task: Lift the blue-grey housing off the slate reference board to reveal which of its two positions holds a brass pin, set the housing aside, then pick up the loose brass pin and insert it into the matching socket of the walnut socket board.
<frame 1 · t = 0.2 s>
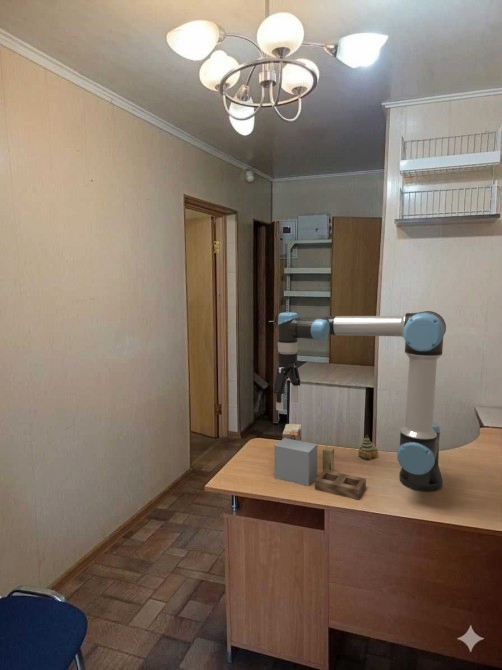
hand: (287, 405, 171), 27 cm above the table, fingers open, 13 cm apart
ornament: (368, 457, 186), on the table
stack of blocks: (292, 452, 192), on the table
socket board: (340, 488, 158), on the table
reference board: (295, 476, 168), on the table
brass pin: (328, 473, 171), on the table
housing: (295, 477, 168), on the table
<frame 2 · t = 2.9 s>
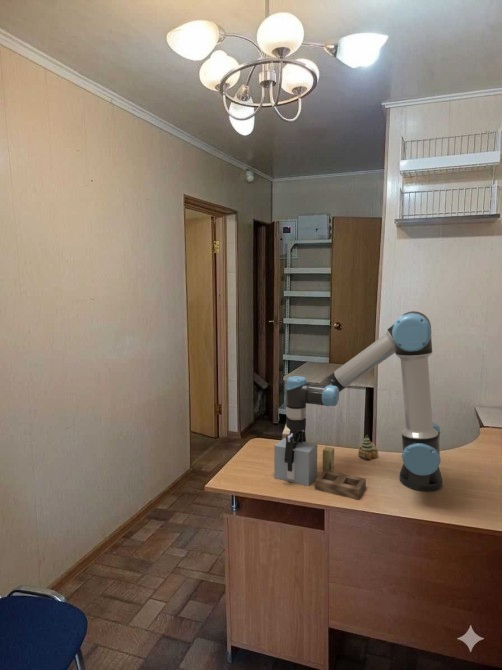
hand: (295, 473, 168), 1 cm above the table, fingers closed on housing, 9 cm apart
housing: (295, 477, 168), on the table, touching gripper
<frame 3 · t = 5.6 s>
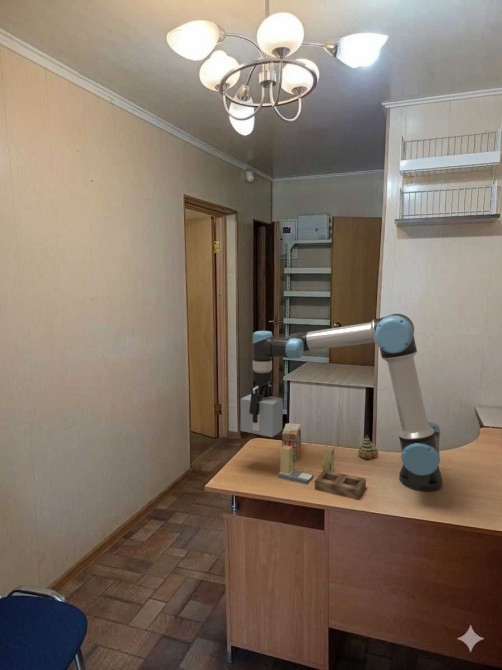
hand: (261, 426, 172), 18 cm above the table, fingers closed on housing, 9 cm apart
housing: (261, 430, 172), point 17 cm above the table, touching gripper
when the fingers open (3 cm above the table, at t = 8.6 s): housing drops 1 cm, on the table.
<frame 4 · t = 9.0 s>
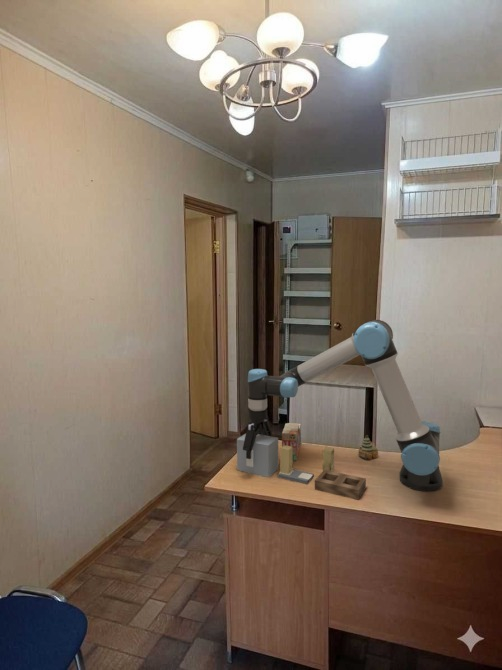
hand: (258, 459, 174), 4 cm above the table, fingers open, 13 cm apart
housing: (257, 469, 175), on the table
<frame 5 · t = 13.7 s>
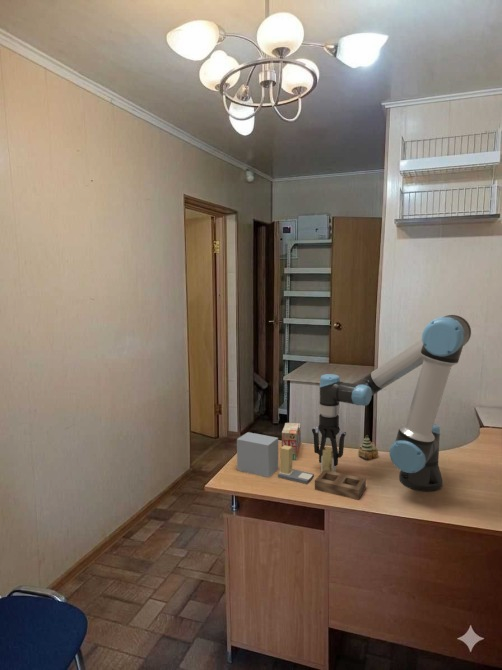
hand: (328, 471, 171), 1 cm above the table, fingers closed on brass pin, 3 cm apart
brass pin: (328, 473, 171), on the table, touching gripper
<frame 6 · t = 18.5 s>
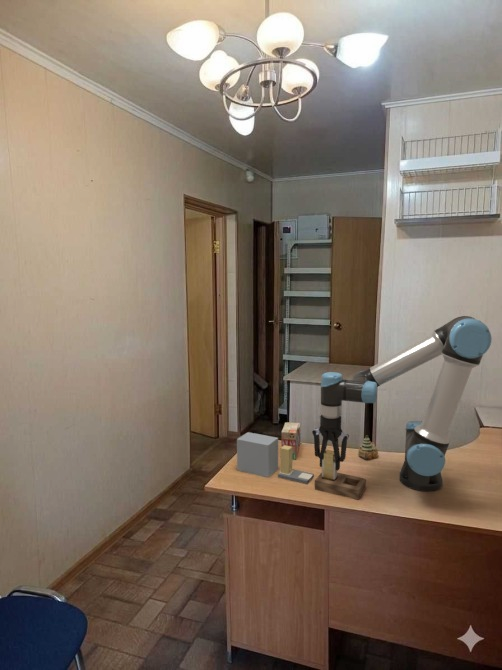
hand: (329, 476, 160), 4 cm above the table, fingers closed on brass pin, 3 cm apart
brass pin: (329, 478, 160), point 3 cm above the table, touching gripper
when the fingers open (4 cm above the table, at t = 20.1 s): brass pin drops 3 cm, resting in socket board.
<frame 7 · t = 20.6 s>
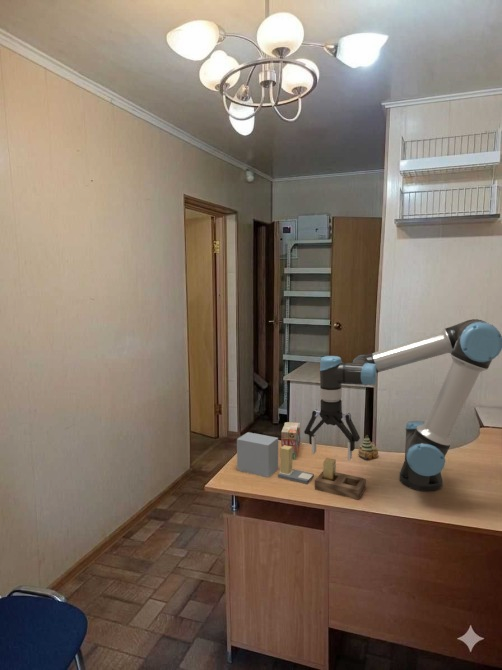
hand: (331, 455, 159), 12 cm above the table, fingers open, 13 cm apart
brass pin: (329, 486, 160), resting in socket board
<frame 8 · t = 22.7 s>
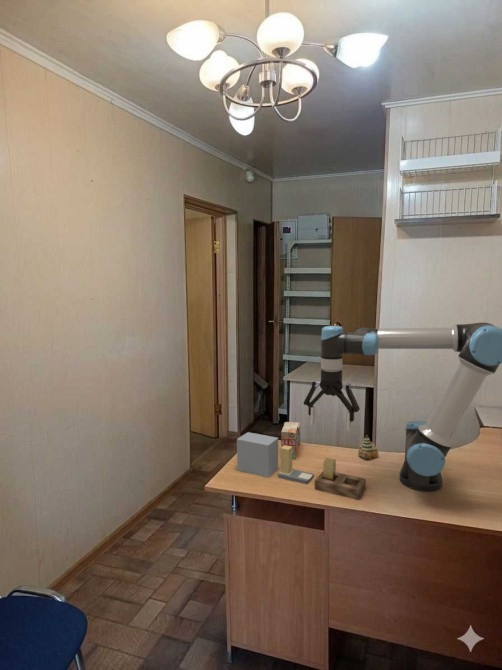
hand: (330, 426, 157), 23 cm above the table, fingers open, 13 cm apart
at the end: brass pin 0.2 cm from the target spot on the socket board, point 0.0 cm above the socket board's base; brass pin tilted 0°; housing moved 16.2 cm from its start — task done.
